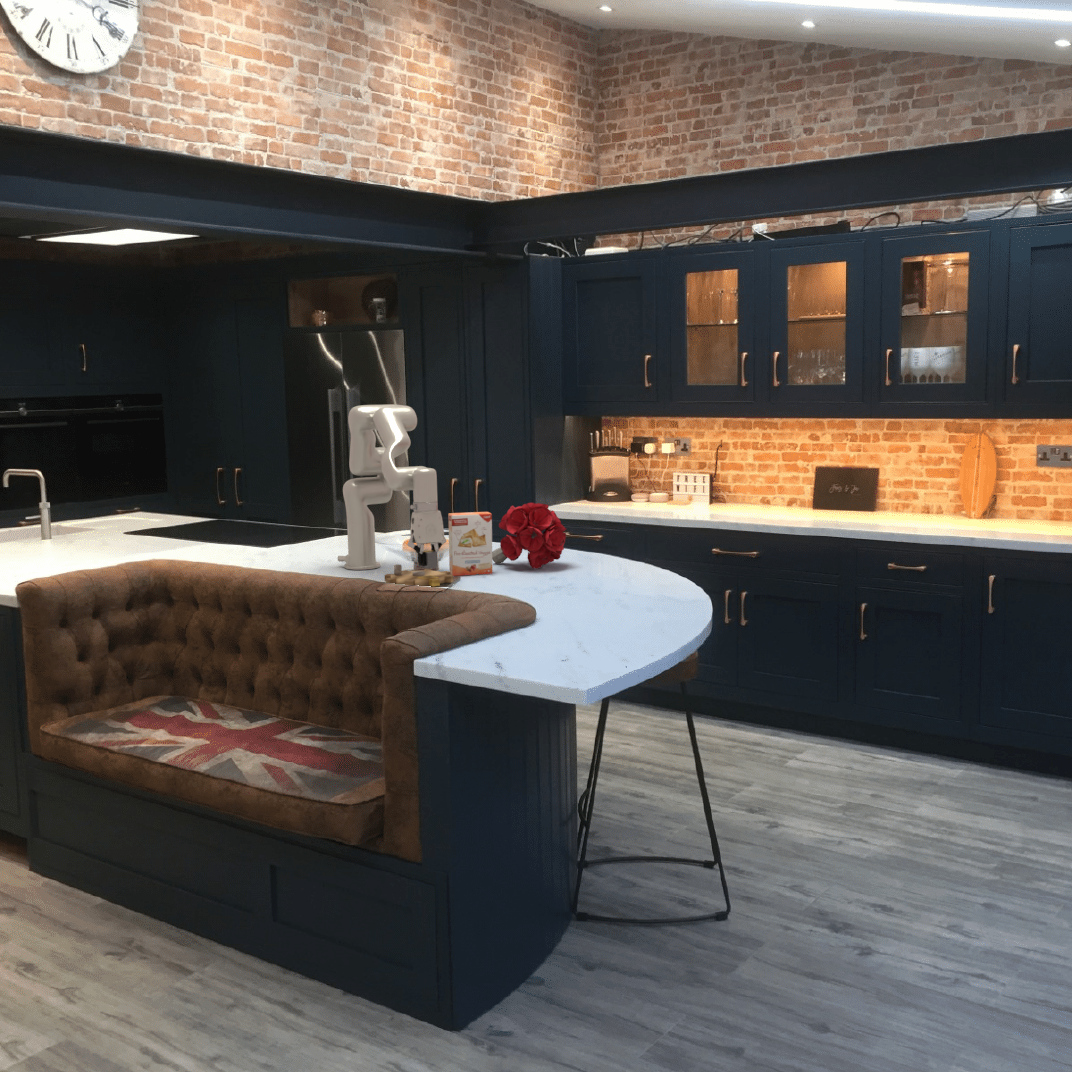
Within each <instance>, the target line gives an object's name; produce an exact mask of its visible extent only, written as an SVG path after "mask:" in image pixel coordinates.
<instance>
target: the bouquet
mask: <svg viewBox="0 0 1072 1072" xmlns="http://www.w3.org/2000/svg"><path fill="white" fill-rule="evenodd" d="M498 527H499V528H500V529H501V530H504V531H507V532H509V534H506V536H504V537H502V538H501V540H500V544H499V547H498V548H496V549H494V550H492V562H494V564H497V565H499V564H502V563H504V562H505V561H506V560H510V561H512V562H514V561H516V560H518V559H519V557H520V556H521V554H522V553H523V550H524V551H527V557H526V558H527V560H528V564H529V566H530V567H531V568H532V569H536V570H537V569H540V568H542V567H543V566H546V565H547V564H549V563H552V562H554V561H555V560H556V561H558V560H560V559H561V555H562V552H563V551H564V549H565V548H564V547H565V546H564V545H565V544H566V539H567V533H566V532H565V531H566V530H567V528H566V527H565V526H564V525H563V524H562V522H561V520H560V518H559V517H558V516H557V514H556V513H555V510H553V509H549V504H546V503H539V502H538V503H536V502H528V503H524V504H522V505H518V506H516V507H515V506H514V505H511V506H510V508H509V509H508V510H507V512H506V513H505V514H504V515H503V516H502V517H501V520H500V522H499V523H498Z"/></svg>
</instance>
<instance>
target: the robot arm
mask: <svg viewBox="0 0 1072 1072" xmlns="http://www.w3.org/2000/svg"><path fill="white" fill-rule="evenodd" d="M347 422H348V427H349V431H350V443H349V444H350V447H349V459H348V460H349V464H348V465H349V470H350V472H351V474H352V475H354V476H363V477H356V478H355V477H354V478H351V479H348V480H347V481H345V483H344V484H343V487H342V494H343V496H342V497H343V501H344V504H345V512H346V525H347V551H348V552H347V553H348V554H346V555H337V562H339V563H341V562H345V564H344V566H343V567H344V569H346V570H352V571H353V570H354V571H363V570H365V571H366V570H374V569H378V568H380V567H381V563H380V562H379V561H376V560H377V558H376V555H377V554H376V532H375V530H376V529H375V516H374V514H373V512H372V511H371V510H370V509H369V507H368V505H378V504H380V505H381V504H386V503H389V501H391V499H392V496H393V491H396V492H401V491H413V492H412V493H413V502H412V504H410V506H409V508H410V510H413V511H412V513H411V518H410V519H411V520H410V533H409V534H410V538H409V540H408V541H407V543H406V544H407V546H408V547H410V548H412V549H413V550H414V551H415V552H416V554H417V563H418V566H419V565H420V566H425V554H424V553H423V551H424V550H425V549H424V548H425V545H428V544H429V545H430V548H431V549H430V550H433V551H436V552H437V553H438V552H439V551H440V548H441V547H442V546H443V545H445V544H446V542H447V538H446V537H445V530H444V521H443V516H442V512H441V510H439V509H438V506H439V505H438V479H437V478H438V477H437V470H436V469H435V468H431V467H426V466H423V465H419V466H418V465H416V466H399V467H397V466H396V462H395V458H397V457H398V456H400V455H402V454H404V453H405V452H407V450H408V449H409V448H410V446H411V439H410V436H409V434H408V432H411V431H413V430H416V427H417V425H418V417H417V414H416V412H415V409H413V407H411V406H409V405H402V404H396V403H395V404H394V403H393V404H363V405H356V406H354V407H351V409H350V411H349V413H348V421H347ZM374 431H377V433H378V434H379V438H380V439H381V442H382V443H383V446H379V447H376V442H377V439H376V438H377V437H376V434H375V432H374ZM364 476H370V477H364ZM371 476H372V477H371ZM373 476H374V477H373ZM420 566H419V567H420Z"/></svg>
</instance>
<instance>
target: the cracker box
mask: <svg viewBox="0 0 1072 1072" xmlns="http://www.w3.org/2000/svg"><path fill="white" fill-rule="evenodd" d="M448 546H449V547H448V557H449V559H448V562H449V564H448V566H449V572H451V575H453V577H461V576H474V575H475V576H476V574H479V575H493V560H492V552H493V514H492V513H491V512H489V511H473V512H471V511H470V512H468V511H467V512H453V513H452V512H451V513H448Z"/></svg>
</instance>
